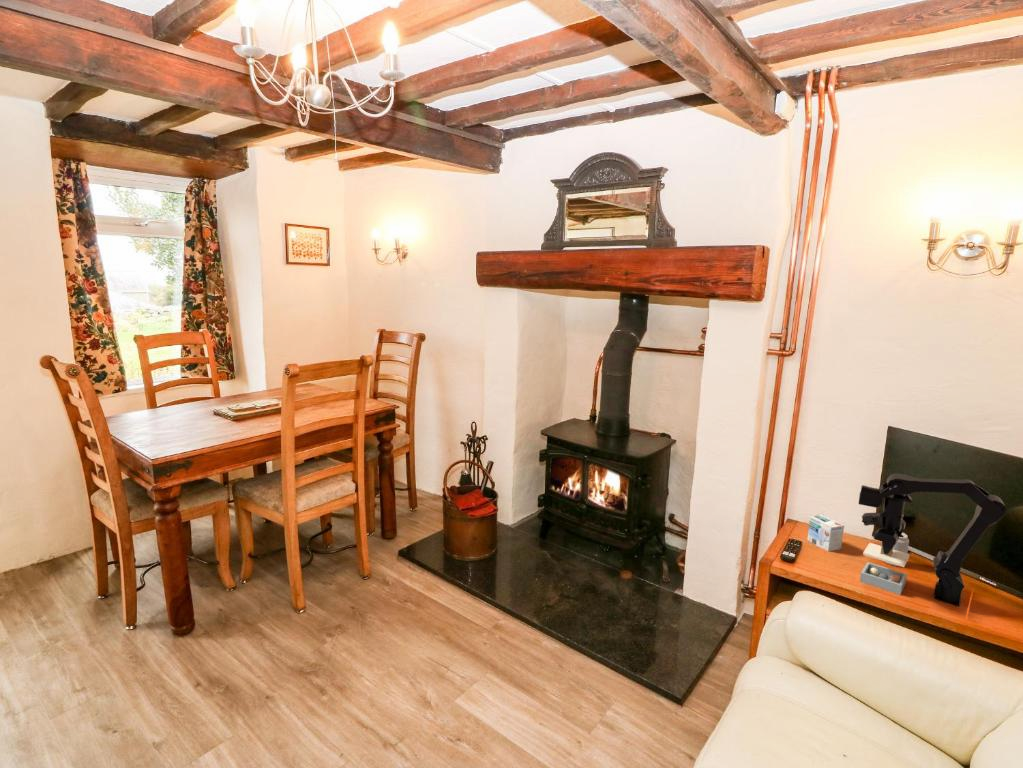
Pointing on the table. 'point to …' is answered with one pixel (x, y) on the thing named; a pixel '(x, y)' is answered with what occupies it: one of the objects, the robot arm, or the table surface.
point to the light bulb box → (825, 533)
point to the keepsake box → (881, 582)
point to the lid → (886, 555)
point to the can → (901, 545)
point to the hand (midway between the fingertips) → (886, 552)
